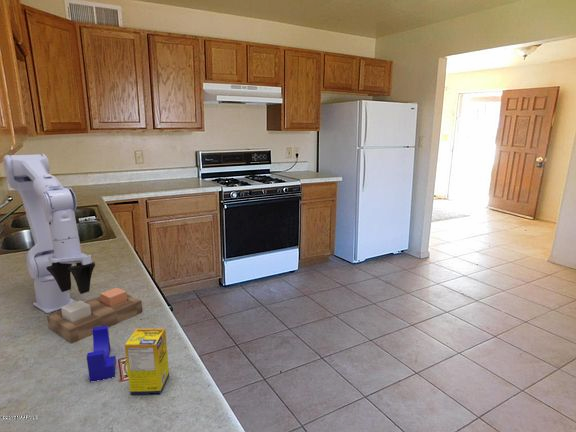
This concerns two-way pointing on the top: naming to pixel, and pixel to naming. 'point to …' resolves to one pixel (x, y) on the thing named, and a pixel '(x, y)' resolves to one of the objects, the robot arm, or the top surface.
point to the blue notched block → (101, 356)
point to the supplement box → (147, 361)
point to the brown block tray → (94, 318)
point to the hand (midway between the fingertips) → (75, 291)
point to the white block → (75, 311)
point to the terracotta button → (113, 297)
